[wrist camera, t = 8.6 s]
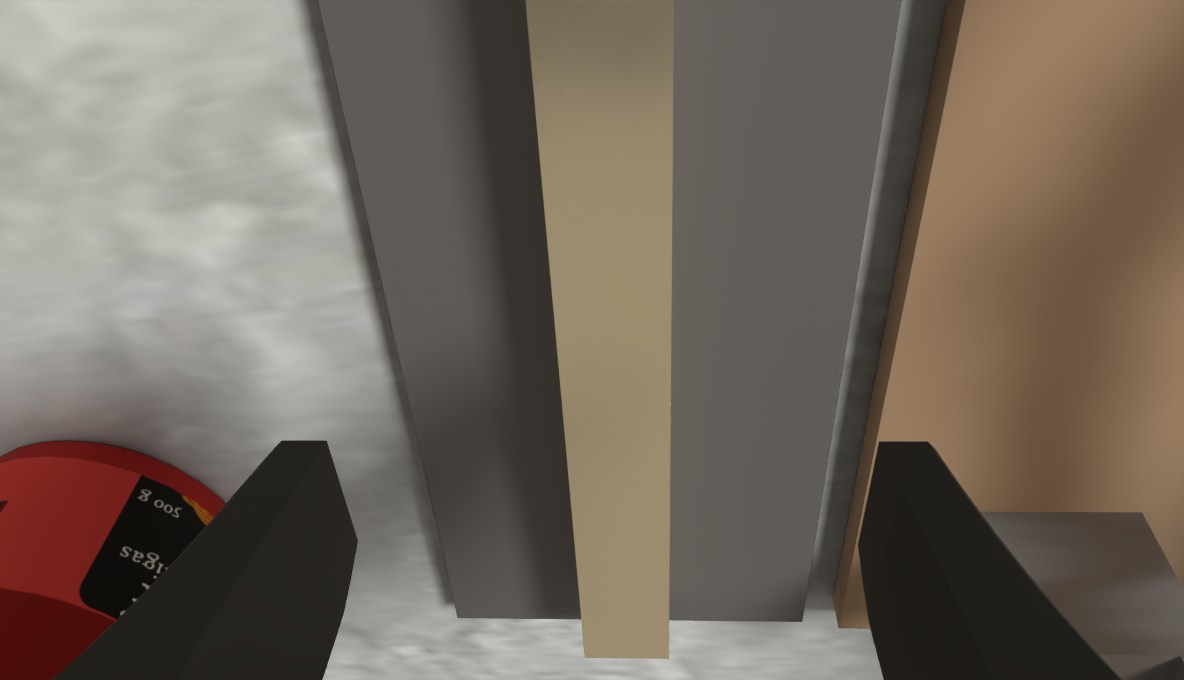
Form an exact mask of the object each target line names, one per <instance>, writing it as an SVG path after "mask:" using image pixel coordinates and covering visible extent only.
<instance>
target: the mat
mask: <svg viewBox="0 0 1184 680" xmlns="http://www.w3.org/2000/svg"><path fill="white" fill-rule="evenodd" d="M901 1H902V0H674V56H673V184H672V312H671V439H670V567H669V620H694V621H785V622H802V620H803V613H804V607H805V601H806V595H807V588H808V582H809V576H810V570H811V563H812V557H813V551H814V545H815V538H816V532H817V526H818V520H819V513H820V507H821V501H822V495H823V488H824V482H825V476H826V470H827V463H828V457H829V451H830V445H831V438H832V432H833V426H834V420H835V413H836V407H837V401H838V395H839V388H840V382H841V376H842V370H843V363H844V357H845V351H846V345H847V338H848V332H849V326H850V320H851V313H852V307H853V301H854V295H855V288H856V282H857V276H858V270H859V263H860V257H861V251H862V245H863V238H864V232H865V226H866V220H867V213H868V207H869V201H870V195H871V188H872V182H873V176H874V170H875V163H876V157H877V151H878V145H879V138H880V132H881V126H882V120H883V113H884V107H885V101H886V95H887V88H888V82H889V76H890V70H891V63H892V57H893V51H894V45H895V38H896V32H897V26H898V20H899V13H900V7H901ZM318 3H319V7H320V12H321V16H322V21H323V25H324V29H325V34H326V38H327V43H328V47H329V52H330V56H331V60H332V65H333V69H334V74H335V78H336V83H337V87H338V91H339V96H340V100H341V105H342V109H343V113H344V118H345V122H346V127H347V131H348V136H349V140H350V144H351V149H352V153H353V158H354V162H355V166H356V171H357V175H358V180H359V184H360V189H361V193H362V197H363V202H364V206H365V211H366V215H367V220H368V224H369V228H370V233H371V237H372V242H373V246H374V250H375V255H376V259H377V264H378V268H379V273H380V277H381V281H382V286H383V290H384V295H385V299H386V304H387V308H388V312H389V317H390V321H391V326H392V330H393V334H394V339H395V343H396V348H397V352H398V357H399V361H400V365H401V370H402V374H403V379H404V383H405V387H406V392H407V396H408V401H409V405H410V410H411V414H412V418H413V423H414V427H415V432H416V436H417V441H418V445H419V449H420V454H421V458H422V463H423V467H424V471H425V476H426V480H427V485H428V489H429V494H430V498H431V502H432V507H433V511H434V516H435V520H436V525H437V529H438V533H439V538H440V542H441V547H442V551H443V555H444V560H445V564H446V569H447V573H448V578H449V582H450V586H451V591H452V595H453V600H454V604H455V608H456V613H457V617H458V618H511V619H581V609H580V598H579V587H578V576H577V565H576V554H575V543H574V532H573V521H572V510H571V499H570V488H569V477H568V466H567V454H566V443H565V432H564V421H563V410H562V399H561V388H560V377H559V366H558V355H557V344H556V333H555V322H554V311H553V300H552V289H551V278H550V266H549V255H548V244H547V233H546V222H545V211H544V200H543V189H542V178H541V167H540V156H539V145H538V134H537V123H536V112H535V101H534V90H533V79H532V67H531V56H530V45H529V34H528V23H527V12H526V1H525V0H318Z"/></svg>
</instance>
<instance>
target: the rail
mask: <svg viewBox="0 0 1184 680" xmlns="http://www.w3.org/2000/svg"><path fill="white" fill-rule="evenodd" d="M525 1H526V12H527V23H528V34H529V45H530V56H531V67H532V79H533V90H534V101H535V112H536V123H537V134H538V145H539V156H540V167H541V178H542V189H543V200H544V211H545V222H546V233H547V244H548V255H549V266H550V278H551V289H552V300H553V311H554V322H555V333H556V344H557V355H558V366H559V377H560V388H561V399H562V410H563V421H564V432H565V443H566V454H567V466H568V477H569V488H570V499H571V510H572V521H573V532H574V543H575V554H576V565H577V576H578V587H579V598H580V609H581V620H582V631H583V642H584V653H585V658H654V659H669V567H670V439H671V312H672V184H673V56H674V0H525Z"/></svg>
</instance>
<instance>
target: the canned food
mask: <svg viewBox="0 0 1184 680" xmlns="http://www.w3.org/2000/svg"><path fill="white" fill-rule="evenodd" d="M224 505H225V503H224V502H223V501H222V500H221V499H220V498H219V497H218V496H217V495H215V494H214V493H213V492H212V491H210V490H209V489H208V488H207V487H205V486H204V485H203V484H202V483H200V482H199V481H197V480H196V479H194V478H192V477H190V476H189V475H187V474H185V473H184V472H182V471H180V470H179V469H177V468H175V467H173V466H170V465H168V464H166V463H164V462H161V461H159V460H157V459H155V458H152V457H150V456H146V455H143V454H140V453H137V452H134V451H131V450H127V449H124V448H119V447H114V446H109V445H104V444H99V443H90V442H75V441H57V442H43V443H37V444H33V445H29V446H25V447H21V448H18V449H16V450H14V451H12V452H10V453H8V454H6V455H4V456H2V457H0V680H52V679H53V678H54V677H55V676H57V675H58V674H59V673H60V672H61V671H62V670H63V669H65V668H66V667H67V666H68V665H69V664H70V663H71V662H73V661H74V660H75V659H76V658H77V657H78V656H79V655H80V654H81V653H82V652H84V651H85V650H86V649H87V648H88V647H89V646H90V645H91V644H92V643H93V642H94V641H95V640H96V639H97V638H99V637H100V636H101V635H102V634H103V633H104V632H105V631H106V630H107V629H108V628H109V627H110V626H111V625H112V624H113V623H114V622H115V621H116V620H117V619H118V618H119V617H120V616H121V615H122V614H123V613H124V612H125V611H126V610H127V609H128V608H129V607H130V606H131V605H132V604H133V603H134V602H135V601H136V600H137V599H138V598H139V597H140V596H141V595H142V594H143V593H144V592H145V591H146V590H147V589H148V588H149V587H150V586H151V585H152V584H153V583H154V582H155V581H156V580H157V579H158V578H159V577H160V576H161V575H162V574H163V573H164V572H165V571H166V569H167V568H168V567H169V566H170V565H171V564H172V563H173V562H174V561H175V560H176V559H177V558H178V556H179V555H180V554H181V553H182V552H183V551H184V550H185V549H186V548H187V547H188V546H189V544H190V543H191V542H192V541H193V540H194V539H195V538H196V537H197V536H198V535H199V534H200V532H201V531H202V530H203V529H204V528H205V527H206V526H207V525H208V524H209V523H210V521H211V520H212V519H213V518H214V517H215V516H216V515H217V513H218V512H219V511H220V510H221V509H222V508H223V507H224Z"/></svg>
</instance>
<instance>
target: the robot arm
mask: <svg viewBox="0 0 1184 680" xmlns="http://www.w3.org/2000/svg"><path fill="white" fill-rule="evenodd" d="M357 542H358V540H357V537H356V534H355V531H354V527H353V524H352V521H351V518H350V514H349V511H348V508H347V505H346V502H345V498H344V495H343V492H342V489H341V486H340V482H339V479H338V476H337V473H336V469H335V466H334V463H333V460H332V457H331V453H330V450H329V447H328V444H327V441H281V442H280V443H279V444H278V445H277V446H276V447H275V448H274V449H273V451H272V452H271V453H270V454H269V455H268V456H267V457H266V458H265V460H264V461H263V462H262V463H261V464H260V465H259V466H258V468H257V469H256V470H255V471H254V472H253V473H252V474H251V476H250V477H249V478H248V479H247V480H246V481H245V483H244V484H243V485H242V486H241V487H240V488H239V489H238V491H237V492H236V493H235V494H234V495H233V496H232V498H231V499H230V500H229V501H228V502H227V503H226V504H225V505H224V507H223V508H222V509H221V510H220V511H219V512H218V513H217V515H216V516H215V517H214V518H213V519H212V520H211V521H210V523H209V524H208V525H207V526H206V527H205V528H204V529H203V530H202V531H201V532H200V534H199V535H198V536H197V537H196V538H195V539H194V540H193V541H192V542H191V543H190V544H189V546H188V547H187V548H186V549H185V550H184V551H183V552H182V553H181V554H180V555H179V556H178V558H177V559H176V560H175V561H174V562H173V563H172V564H171V565H170V566H169V567H168V568H167V569H166V571H165V572H164V573H163V574H162V575H161V576H160V577H159V578H158V579H157V580H156V581H155V582H154V583H153V584H152V585H151V586H150V587H149V588H148V589H147V590H146V591H145V592H144V593H143V594H142V595H141V596H140V597H139V598H138V599H137V600H136V601H135V602H134V603H133V604H132V605H131V606H130V607H129V608H128V609H127V610H126V611H125V612H124V613H123V614H122V615H121V616H120V617H119V618H118V619H117V620H116V621H115V622H114V623H113V624H112V625H111V626H110V627H109V628H108V629H107V630H106V631H105V632H104V633H103V634H102V635H101V636H100V637H99V638H97V639H96V640H95V641H94V642H93V643H92V644H91V645H90V646H89V647H88V648H87V649H86V650H85V651H84V652H82V653H81V654H80V655H79V656H78V657H77V658H76V659H75V660H74V661H73V662H71V663H70V664H69V665H68V666H67V667H66V668H65V669H63V670H62V671H61V672H60V673H59V674H58V675H57V676H55V677H54V678H53V679H52V680H322V679H323V676H324V673H325V670H326V667H327V664H328V661H329V658H330V655H331V651H332V648H333V645H334V642H335V639H336V636H337V633H338V630H339V627H340V623H341V620H342V617H343V614H344V610H345V605H346V600H347V595H348V590H349V585H350V581H351V575H352V570H353V564H354V559H355V553H356V548H357ZM858 551H859V558H860V565H861V573H862V580H863V588H864V594H865V601H866V607H867V614H868V620H869V624H870V628H871V632H872V636H873V640H874V644H875V648H876V651H877V655H878V659H879V663H880V667H881V670H882V674H883V678H884V680H1122V679H1121V678H1120V677H1119V676H1118V675H1117V674H1116V673H1115V672H1114V671H1113V670H1112V668H1111V667H1110V666H1109V665H1108V664H1107V663H1106V662H1105V661H1104V660H1103V659H1102V658H1101V657H1100V656H1099V655H1098V654H1097V652H1096V651H1095V650H1094V649H1093V648H1092V647H1091V646H1090V645H1089V644H1088V643H1087V642H1086V640H1085V639H1084V638H1083V637H1082V636H1081V635H1080V634H1079V633H1078V631H1077V630H1076V629H1075V628H1074V627H1073V626H1072V625H1071V624H1070V623H1069V621H1068V620H1067V619H1066V618H1065V617H1064V616H1063V615H1062V614H1061V612H1060V611H1059V610H1058V609H1057V608H1056V607H1055V605H1054V604H1053V603H1052V602H1051V601H1050V599H1049V598H1048V597H1047V596H1046V595H1045V594H1044V592H1043V591H1042V590H1041V589H1040V588H1039V586H1038V585H1037V584H1036V583H1035V581H1034V580H1033V579H1032V578H1031V577H1030V575H1029V574H1028V573H1027V572H1026V570H1025V569H1024V568H1023V567H1022V565H1021V564H1020V563H1019V562H1018V560H1017V559H1016V558H1015V557H1014V556H1013V554H1012V553H1011V552H1010V551H1009V549H1008V548H1007V547H1006V545H1005V544H1004V543H1003V542H1002V540H1001V539H1000V538H999V536H998V535H997V534H996V533H995V531H994V530H993V529H992V527H991V526H990V525H989V523H988V522H987V521H986V519H985V518H984V517H983V515H982V514H981V513H980V511H979V510H978V509H977V507H976V506H975V504H974V503H973V502H972V500H971V499H970V498H969V496H968V495H967V493H966V492H965V491H964V489H963V488H962V487H961V485H960V484H959V482H958V481H957V479H956V478H955V477H954V475H953V474H952V472H951V471H950V469H949V468H948V467H947V465H946V464H945V462H944V461H943V459H942V458H941V457H940V455H939V454H938V452H937V451H936V449H935V448H934V447H933V446H932V445H931V444H930V443H929V442H928V441H879V444H878V449H877V454H876V458H875V463H874V468H873V473H872V478H871V483H870V488H869V493H868V498H867V502H866V507H865V512H864V517H863V522H862V527H861V532H860V537H859V542H858Z"/></svg>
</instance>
